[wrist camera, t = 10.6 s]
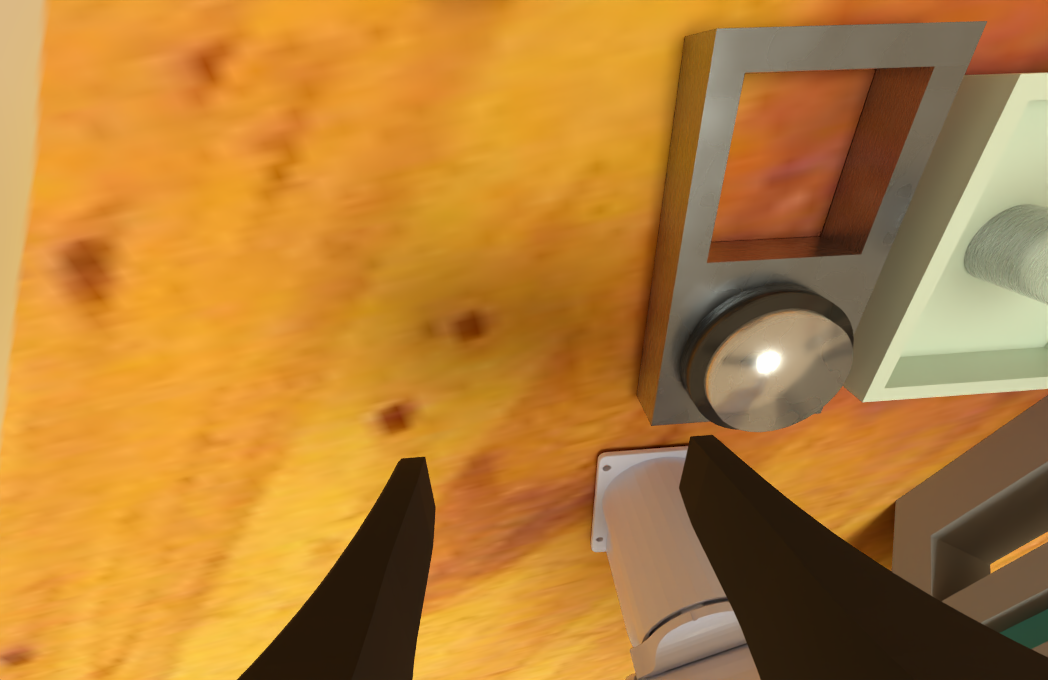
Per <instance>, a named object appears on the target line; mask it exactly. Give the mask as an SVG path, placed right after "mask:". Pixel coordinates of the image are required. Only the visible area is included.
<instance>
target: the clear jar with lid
mask: <svg viewBox="0 0 1048 680" xmlns="http://www.w3.org/2000/svg"><path fill="white" fill-rule="evenodd" d="M964 265H965V269H966V271H967V272H968V273H969V274H970V275H971V276H973V277H975V278H978V279H980V280H983V281H986V282H988V283H991V284H994V285H996V286H999V287H1002V288H1004V289H1007V290H1010V291H1012V292H1015V293H1018V294H1020V295H1023V296H1026V297H1028V298H1031V299H1033V300H1036V301H1039V302H1041V303H1044V304H1047V305H1048V208H1047V207H1042V206H1037V205H1032V204H1023V205H1018V206H1014V207H1011V208H1009V209H1006V210H1004V211H1002V212H1001V213H999V214H997V215H996V216H994V217H993V218H991V219H990V220H989V221H988V222H986V223H985V224H984V225H983V226H982V227H981V228H980V229H979V230H978V232H977V233H976V234H975V235H974V237H973V238H972V240H971V241H970V243H969V245H968V247H967V250H966V253H965V257H964Z"/></svg>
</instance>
